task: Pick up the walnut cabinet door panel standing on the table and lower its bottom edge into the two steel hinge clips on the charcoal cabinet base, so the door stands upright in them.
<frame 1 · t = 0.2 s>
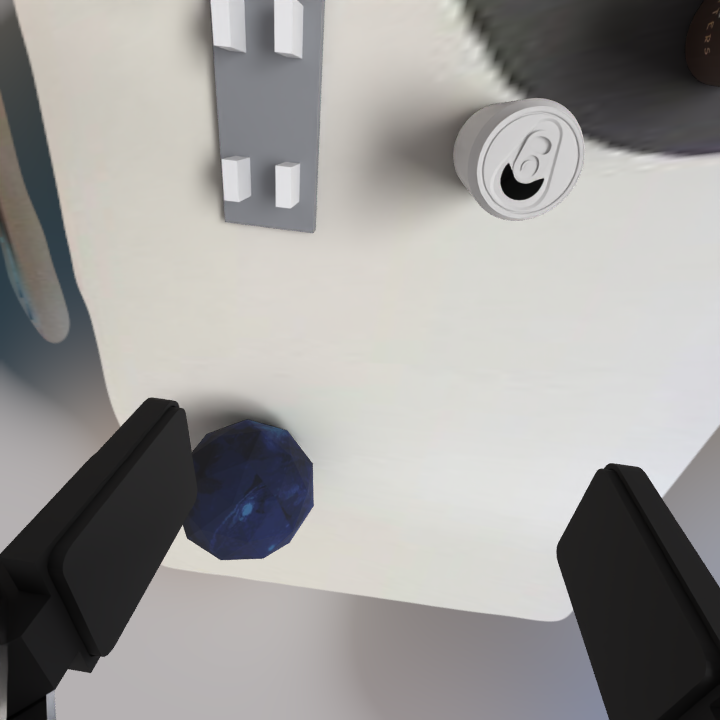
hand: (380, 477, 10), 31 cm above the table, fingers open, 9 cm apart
hinge base: (270, 110, 33), on the table
beverage can: (492, 150, 33), on the table
decorative orb: (267, 443, 52), on the table
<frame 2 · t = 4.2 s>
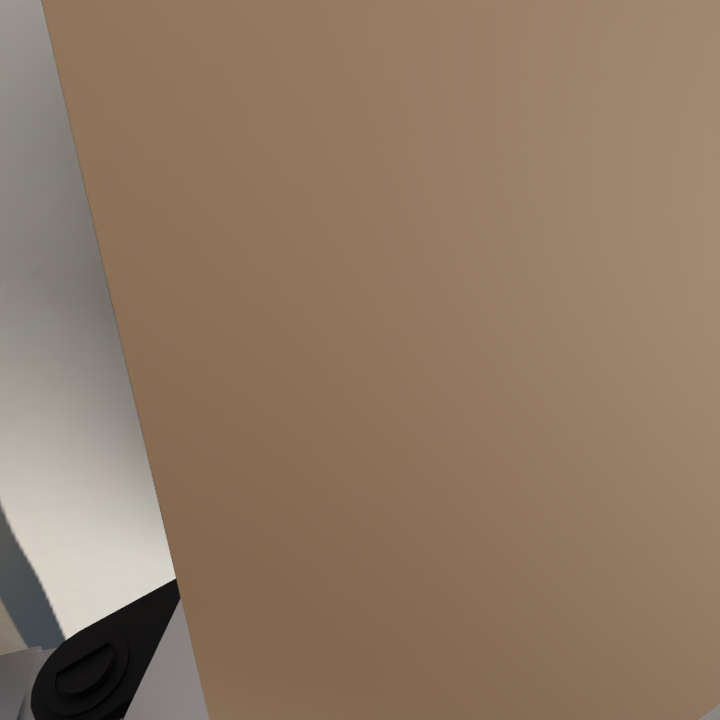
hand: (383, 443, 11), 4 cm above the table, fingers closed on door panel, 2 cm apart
beverage can: (708, 706, 23), on the table
door panel: (390, 367, 14), on the table, touching gripper
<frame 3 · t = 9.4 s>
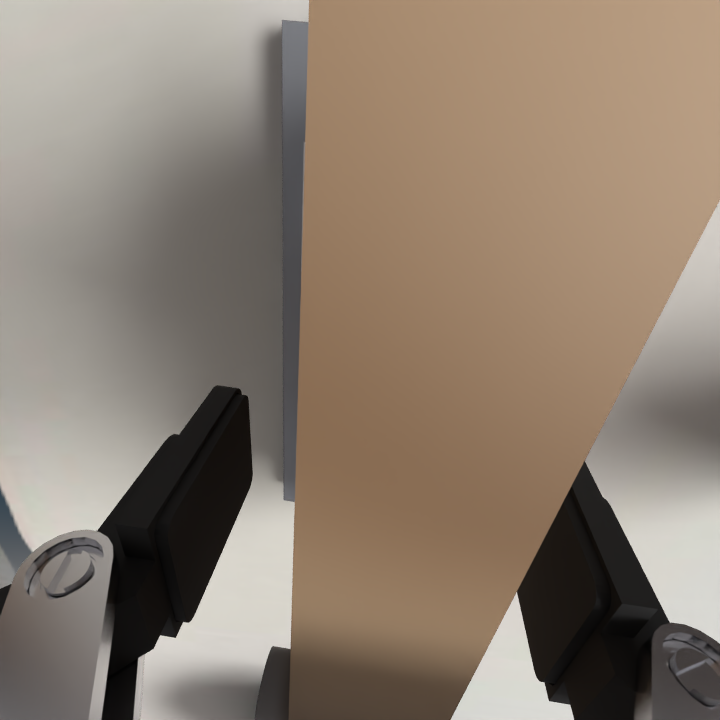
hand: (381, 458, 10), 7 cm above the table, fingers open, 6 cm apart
hinge base: (392, 334, 16), on the table
door panel: (392, 352, 15), point 1 cm above the table, touching hinge base
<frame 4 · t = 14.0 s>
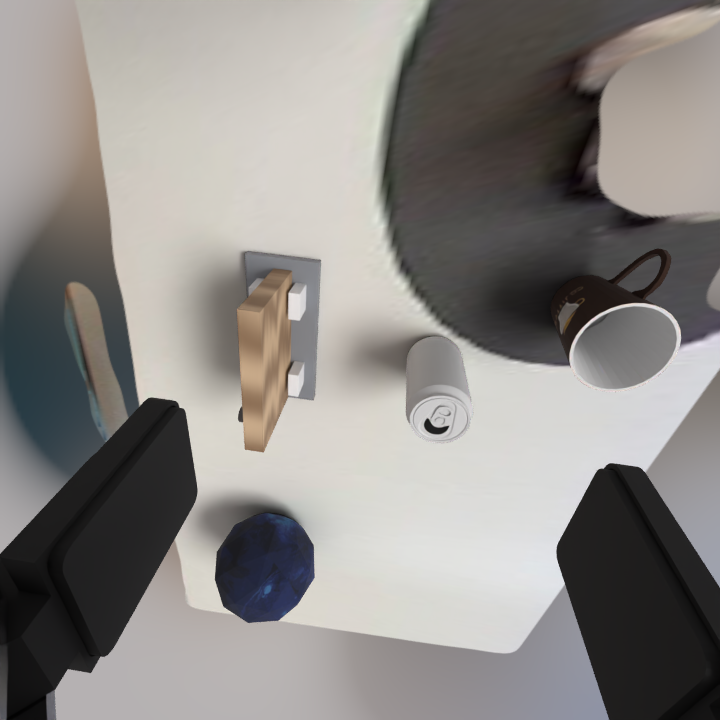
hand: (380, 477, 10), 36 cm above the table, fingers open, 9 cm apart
hinge base: (284, 330, 50), on the table
beverage can: (434, 356, 49), on the table
decorative orb: (279, 524, 68), on the table
coffee mug: (594, 293, 44), on the table
door panel: (282, 335, 49), point 1 cm above the table, touching hinge base
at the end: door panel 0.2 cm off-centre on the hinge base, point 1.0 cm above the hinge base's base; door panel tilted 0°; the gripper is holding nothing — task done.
